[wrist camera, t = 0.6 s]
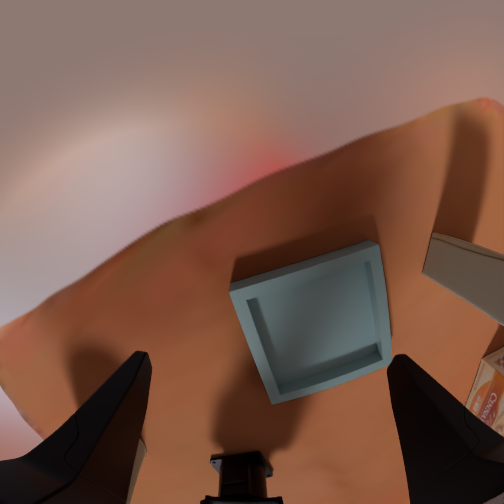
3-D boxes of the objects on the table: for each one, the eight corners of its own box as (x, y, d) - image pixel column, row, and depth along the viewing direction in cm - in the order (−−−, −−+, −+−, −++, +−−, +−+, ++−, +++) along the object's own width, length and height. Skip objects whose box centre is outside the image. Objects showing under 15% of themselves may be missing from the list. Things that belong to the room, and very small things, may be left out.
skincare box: (470, 242, 23) (557, 273, 11) (459, 282, 24) (540, 328, 12) (429, 230, 22) (529, 263, 11) (418, 276, 23) (507, 331, 12)
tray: (384, 353, 25) (392, 363, 23) (270, 391, 25) (272, 405, 23) (368, 239, 22) (378, 244, 20) (229, 283, 23) (228, 292, 21)
